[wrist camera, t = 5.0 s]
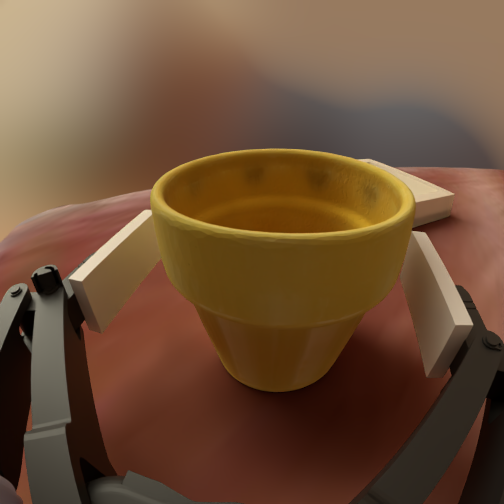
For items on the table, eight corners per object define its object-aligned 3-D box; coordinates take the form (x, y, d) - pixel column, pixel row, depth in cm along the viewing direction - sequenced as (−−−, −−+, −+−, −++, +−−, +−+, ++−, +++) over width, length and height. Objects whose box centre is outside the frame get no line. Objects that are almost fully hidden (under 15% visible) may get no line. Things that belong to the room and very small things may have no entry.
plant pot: (214, 456, 11) (164, 270, 6) (170, 312, 19) (143, 161, 14) (401, 378, 14) (468, 207, 9) (311, 277, 22) (322, 143, 17)
